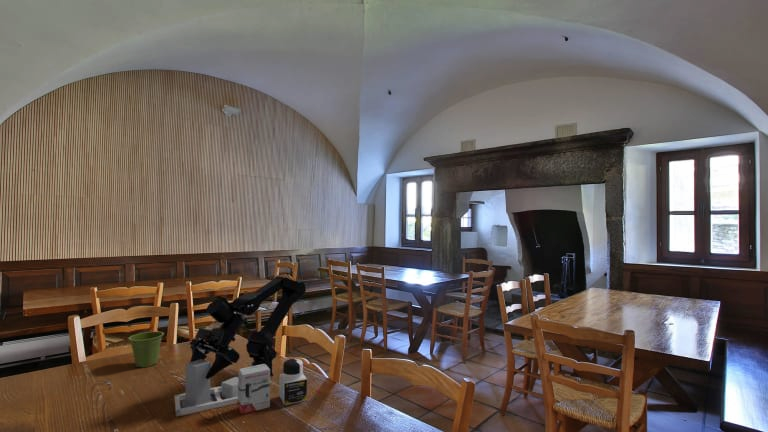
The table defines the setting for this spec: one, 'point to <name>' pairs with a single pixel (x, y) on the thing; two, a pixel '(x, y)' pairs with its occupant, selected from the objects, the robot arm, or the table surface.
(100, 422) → the table surface
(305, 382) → the medicine bottle
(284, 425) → the table surface
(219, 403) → the frame
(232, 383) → the small box
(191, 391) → the block
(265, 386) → the ink box
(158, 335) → the plant pot
